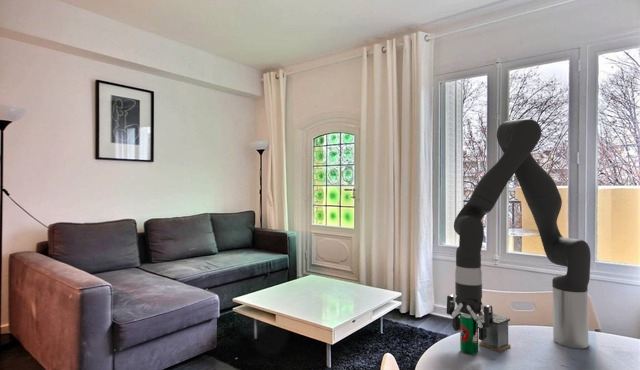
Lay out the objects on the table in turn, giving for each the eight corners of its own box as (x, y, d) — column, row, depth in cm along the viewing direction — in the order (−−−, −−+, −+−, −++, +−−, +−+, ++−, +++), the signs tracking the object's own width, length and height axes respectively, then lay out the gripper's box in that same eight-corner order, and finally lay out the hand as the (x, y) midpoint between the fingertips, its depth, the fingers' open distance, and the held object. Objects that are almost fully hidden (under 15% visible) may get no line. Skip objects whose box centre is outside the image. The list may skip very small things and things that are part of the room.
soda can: (477, 357, 105) (476, 316, 106) (459, 353, 108) (458, 313, 108) (479, 350, 110) (478, 310, 110) (461, 346, 112) (461, 308, 112)
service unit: (490, 340, 117) (490, 312, 117) (510, 347, 112) (510, 318, 112) (479, 344, 114) (478, 316, 114) (498, 352, 108) (498, 323, 108)
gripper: (498, 284, 105) (498, 340, 105) (456, 274, 117) (456, 324, 117) (482, 288, 101) (483, 346, 101) (440, 277, 113) (441, 329, 113)
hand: (468, 334), depth 109 cm, fingers open, 8 cm apart
